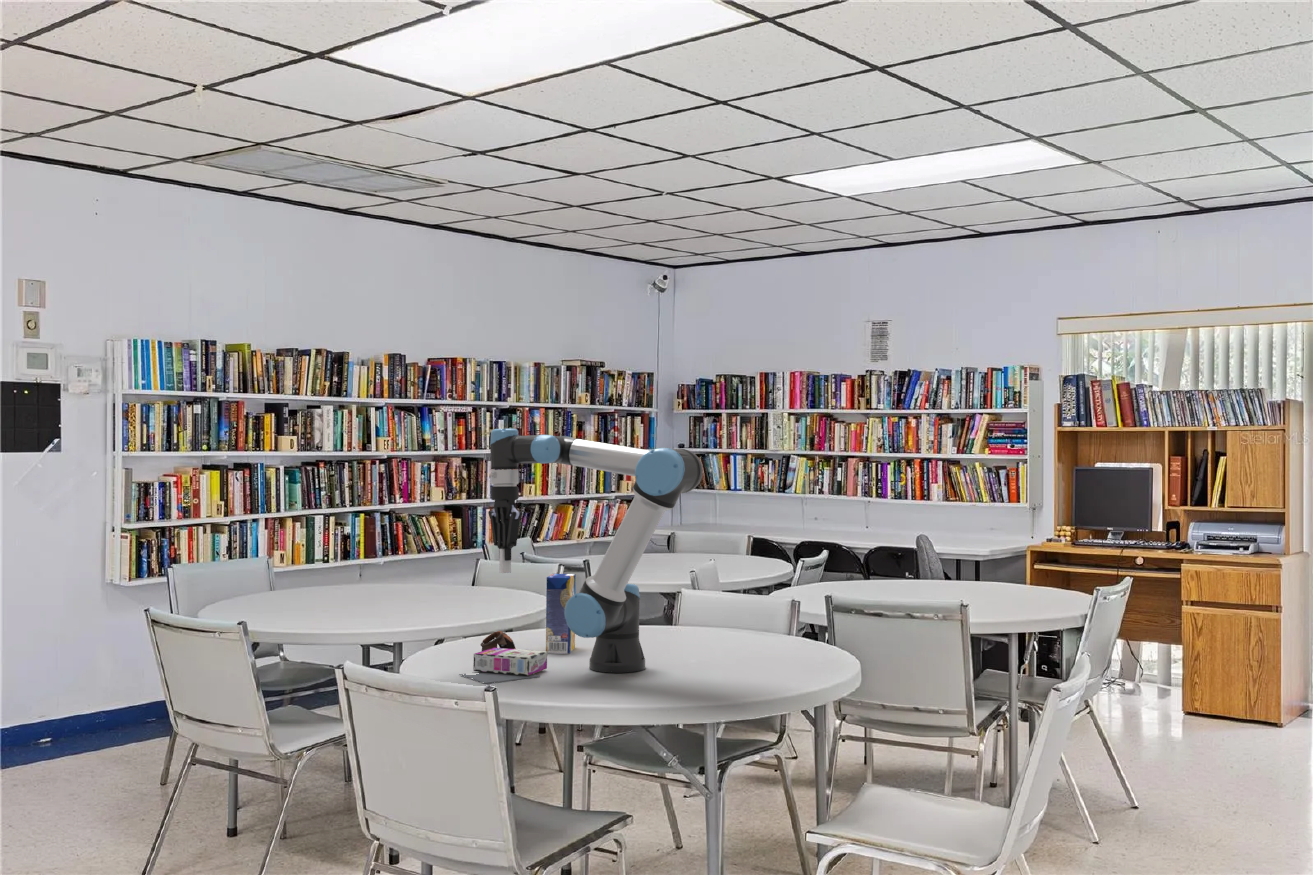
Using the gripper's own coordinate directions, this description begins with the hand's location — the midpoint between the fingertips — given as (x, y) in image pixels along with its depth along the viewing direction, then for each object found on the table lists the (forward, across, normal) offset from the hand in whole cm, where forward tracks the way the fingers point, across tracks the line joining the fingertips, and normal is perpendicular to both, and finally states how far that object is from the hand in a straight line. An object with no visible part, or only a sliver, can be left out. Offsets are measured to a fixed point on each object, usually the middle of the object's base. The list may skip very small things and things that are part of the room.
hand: (505, 572), depth 307 cm
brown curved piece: (+26, -16, +9) cm, 32 cm away
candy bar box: (+23, -2, -6) cm, 24 cm away
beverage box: (+26, -13, +28) cm, 40 cm away
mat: (+26, +9, -8) cm, 28 cm away
